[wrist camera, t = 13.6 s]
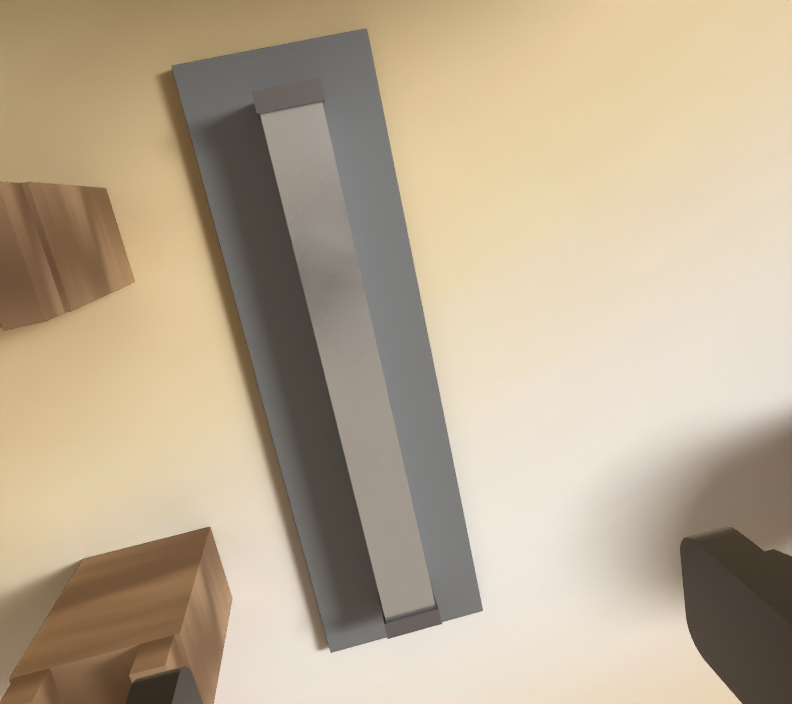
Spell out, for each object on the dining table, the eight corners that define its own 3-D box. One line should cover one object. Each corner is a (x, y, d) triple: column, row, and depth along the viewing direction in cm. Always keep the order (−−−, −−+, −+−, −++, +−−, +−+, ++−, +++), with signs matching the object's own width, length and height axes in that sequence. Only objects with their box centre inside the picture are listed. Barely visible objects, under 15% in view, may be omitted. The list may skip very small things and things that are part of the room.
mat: (174, 68, 27) (171, 65, 26) (365, 32, 27) (366, 28, 27) (330, 644, 33) (330, 652, 33) (479, 603, 34) (482, 610, 34)
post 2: (82, 559, 31) (-13, 713, 21) (210, 526, 31) (170, 663, 22) (109, 631, 32) (29, 808, 22) (232, 598, 32) (204, 758, 23)
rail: (256, 102, 27) (251, 91, 24) (318, 89, 27) (319, 77, 24) (381, 605, 33) (387, 638, 30) (431, 591, 33) (441, 623, 30)
